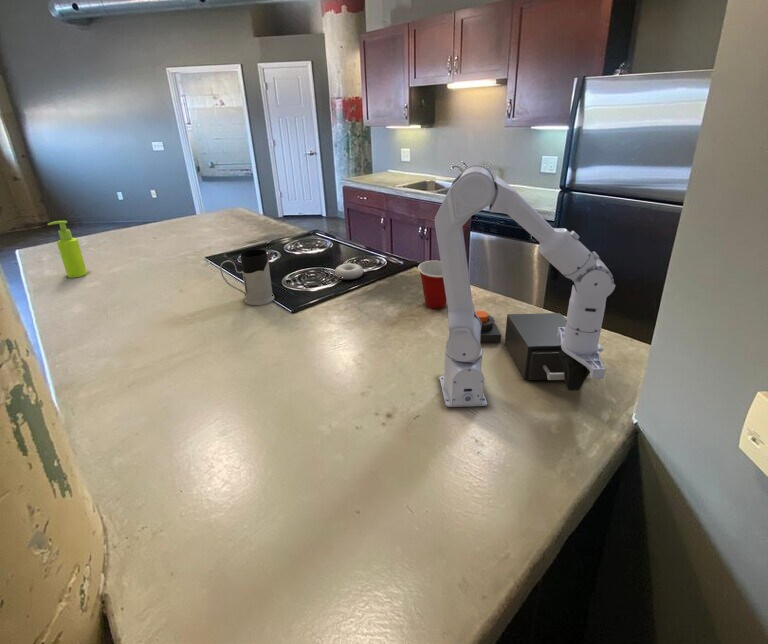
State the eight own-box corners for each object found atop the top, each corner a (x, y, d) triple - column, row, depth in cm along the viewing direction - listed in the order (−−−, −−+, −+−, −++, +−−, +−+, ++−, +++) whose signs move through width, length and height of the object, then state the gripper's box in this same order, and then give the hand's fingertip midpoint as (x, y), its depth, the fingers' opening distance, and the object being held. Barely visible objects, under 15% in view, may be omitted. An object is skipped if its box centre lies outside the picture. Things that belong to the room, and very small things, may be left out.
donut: (341, 270, 151) (330, 279, 142) (341, 261, 150) (329, 270, 141) (367, 272, 148) (357, 282, 139) (367, 263, 147) (357, 272, 138)
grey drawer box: (583, 378, 87) (590, 345, 84) (524, 380, 87) (528, 346, 84) (556, 342, 101) (560, 312, 98) (504, 344, 101) (507, 314, 98)
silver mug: (276, 302, 126) (270, 255, 120) (226, 310, 121) (218, 262, 116) (272, 291, 133) (266, 247, 128) (225, 299, 129) (217, 253, 123)
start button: (489, 323, 103) (490, 317, 103) (475, 323, 103) (475, 317, 103) (485, 316, 107) (486, 310, 106) (471, 317, 107) (472, 310, 106)
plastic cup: (425, 315, 116) (425, 275, 111) (412, 299, 126) (412, 262, 121) (460, 310, 118) (462, 271, 114) (445, 295, 128) (447, 258, 124)
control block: (500, 342, 102) (502, 328, 100) (468, 343, 101) (468, 328, 100) (490, 323, 111) (491, 309, 109) (460, 323, 111) (461, 310, 109)
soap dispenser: (66, 273, 152) (49, 220, 145) (88, 270, 155) (73, 218, 148) (62, 279, 147) (45, 224, 140) (85, 276, 150) (69, 221, 143)
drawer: (594, 390, 82) (599, 363, 80) (536, 392, 82) (540, 365, 80) (557, 344, 98) (561, 320, 96) (509, 345, 98) (512, 322, 96)
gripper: (628, 345, 67) (613, 413, 72) (586, 306, 81) (576, 366, 86) (585, 346, 67) (573, 414, 72) (550, 307, 81) (542, 366, 86)
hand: (572, 388), depth 79 cm, fingers closed
